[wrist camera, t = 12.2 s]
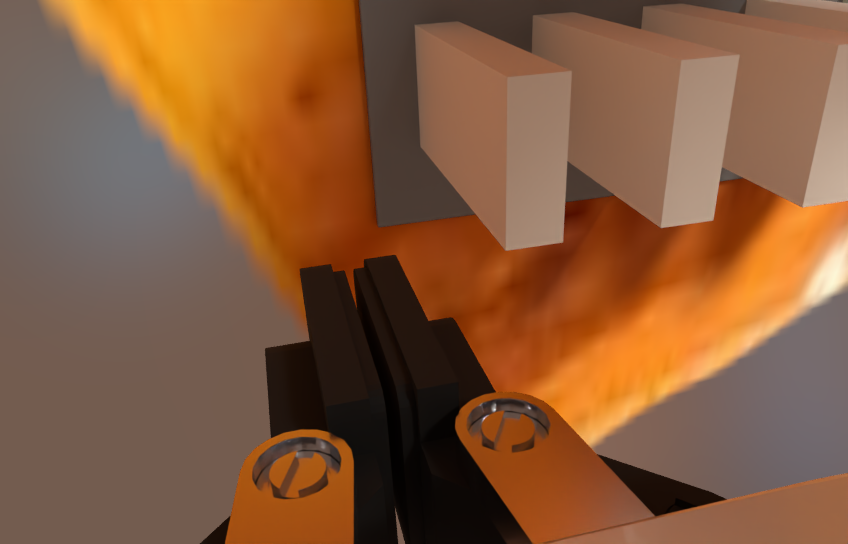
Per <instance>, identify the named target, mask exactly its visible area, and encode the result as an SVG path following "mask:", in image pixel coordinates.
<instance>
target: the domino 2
mask: <svg viewBox="0 0 848 544" xmlns="http://www.w3.org/2000/svg"><path fill="white" fill-rule="evenodd" d="M532 54H534V55H537V56H539V57H541V58H543V59H546V60H548V61H550V62H553V63H555V64H557V65H560V66H562V67H564V68H566V69H569V70H571V71H572V81H571V100H570V120H569V139H568V158H567V161H568V162H569V163H571V164H572V165H573V166H575V167H576V168H578V169H579V170H580V171H582V172H583V173H585V174H586V175H587V176H589V177H590V178H592V179H593V180H594V181H596V182H597V183H599V184H600V185H601V186H603V187H604V188H606V189H607V190H608V191H610V192H611V193H613V194H614V195H615V196H617V197H618V198H619V199H621V200H622V201H624V202H625V203H626V204H628V205H629V206H631V207H632V208H633V209H635V210H636V211H638V212H639V213H640V214H642V215H643V216H645V217H646V218H647V219H649V220H650V221H652V222H653V223H654V224H656V225H657V226H659V227H660V228H665V227H672V226H679V225H686V224H692V223H699V222H706V221H713V219H714V213H715V207H716V200H717V194H718V188H719V181H720V175H721V169H722V163H723V156H724V150H725V144H726V138H727V131H728V125H729V119H730V113H731V106H732V100H733V94H734V88H735V81H736V75H737V69H738V63H739V56H740V55H739V54H735V53H732V52H728V51H724V50H720V49H716V48H712V47H708V46H704V45H700V44H696V43H692V42H689V41H685V40H681V39H677V38H673V37H669V36H665V35H661V34H657V33H653V32H649V31H646V30H642V29H638V28H634V27H630V26H626V25H622V24H618V23H614V22H610V21H607V20H603V19H599V18H595V17H591V16H587V15H583V14H579V13H575V12H568V13H555V14H543V15H533V28H532Z"/></svg>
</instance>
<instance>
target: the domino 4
mask: <svg viewBox="0 0 848 544" xmlns="http://www.w3.org/2000/svg"><path fill="white" fill-rule="evenodd" d="M745 14H746V15H751V16H757V17H763V18H769V19H774V20H780V21H786V22H792V23H797V24H803V25H809V26H815V27H820V28H826V29H832V30H838V31H843V32H848V3H841V2H833V1H825V0H747V3H746V9H745Z"/></svg>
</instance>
